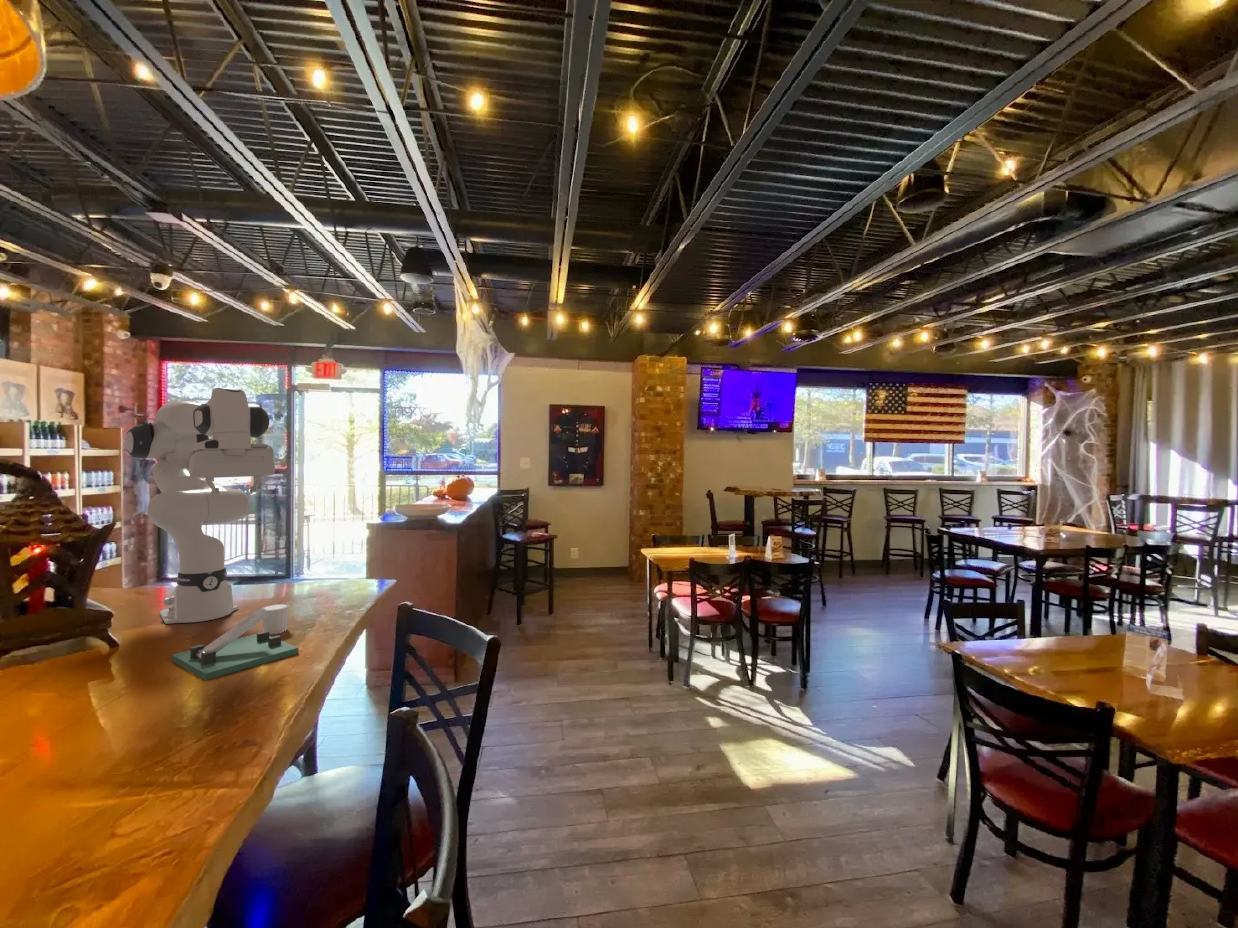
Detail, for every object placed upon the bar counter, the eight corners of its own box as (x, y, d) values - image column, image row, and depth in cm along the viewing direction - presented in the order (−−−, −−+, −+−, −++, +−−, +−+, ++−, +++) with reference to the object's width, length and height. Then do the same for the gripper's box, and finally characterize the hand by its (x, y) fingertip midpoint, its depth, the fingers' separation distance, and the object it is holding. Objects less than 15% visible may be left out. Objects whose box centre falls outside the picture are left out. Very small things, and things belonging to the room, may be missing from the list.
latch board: (171, 660, 137) (171, 644, 137) (261, 637, 153) (261, 623, 153) (205, 680, 126) (205, 662, 125) (298, 653, 142) (298, 637, 142)
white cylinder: (295, 627, 162) (295, 603, 162) (278, 635, 155) (278, 610, 155) (273, 626, 163) (272, 602, 163) (255, 634, 156) (255, 609, 156)
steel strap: (197, 659, 134) (193, 653, 134) (263, 612, 146) (259, 607, 145) (204, 662, 132) (200, 657, 131) (270, 615, 144) (266, 609, 143)
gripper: (268, 445, 169) (271, 491, 168) (185, 445, 153) (188, 496, 152) (277, 443, 165) (280, 490, 165) (192, 442, 149) (195, 494, 148)
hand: (235, 493), depth 158 cm, fingers open, 8 cm apart
